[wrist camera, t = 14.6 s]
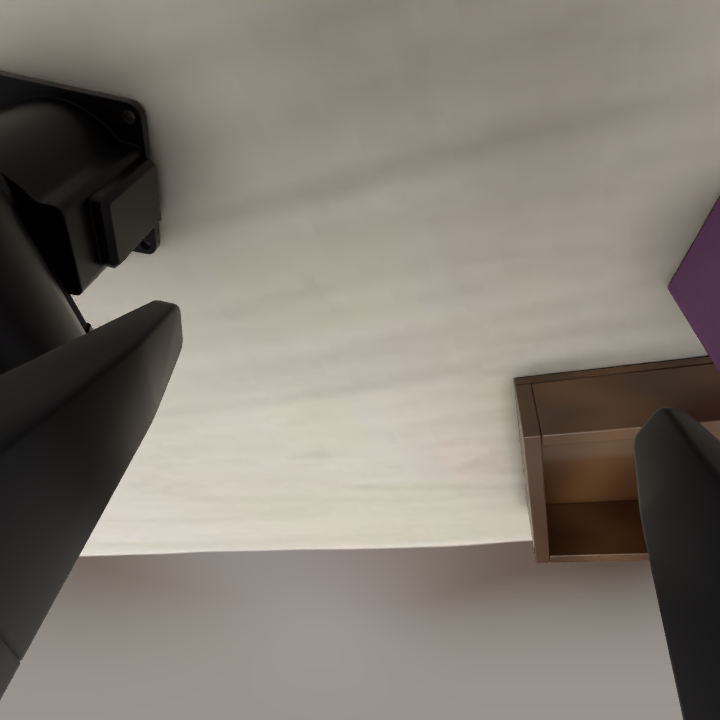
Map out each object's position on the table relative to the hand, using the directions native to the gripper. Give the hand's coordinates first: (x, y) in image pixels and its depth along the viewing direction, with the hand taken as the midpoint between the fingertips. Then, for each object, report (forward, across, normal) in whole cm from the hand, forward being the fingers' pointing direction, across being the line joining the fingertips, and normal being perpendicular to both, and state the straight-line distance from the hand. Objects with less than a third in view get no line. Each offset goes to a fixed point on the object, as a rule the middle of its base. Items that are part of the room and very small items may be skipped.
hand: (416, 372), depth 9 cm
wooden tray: (+13, -16, +13) cm, 24 cm away
